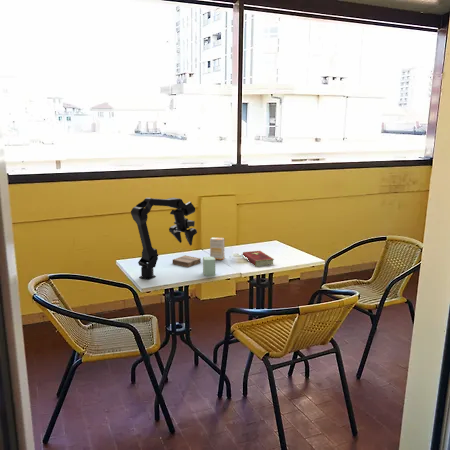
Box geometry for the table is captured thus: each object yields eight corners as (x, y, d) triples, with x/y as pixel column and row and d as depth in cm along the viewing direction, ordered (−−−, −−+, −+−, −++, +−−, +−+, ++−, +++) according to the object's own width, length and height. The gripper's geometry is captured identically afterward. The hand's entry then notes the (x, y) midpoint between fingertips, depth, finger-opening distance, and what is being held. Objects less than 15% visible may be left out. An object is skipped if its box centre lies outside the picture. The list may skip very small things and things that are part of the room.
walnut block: (188, 267, 268) (188, 263, 268) (172, 264, 275) (172, 259, 274) (200, 263, 278) (200, 258, 277) (185, 260, 284) (185, 255, 284)
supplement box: (224, 258, 288) (224, 237, 285) (222, 260, 283) (222, 239, 281) (212, 257, 290) (212, 236, 287) (209, 259, 285) (209, 238, 283)
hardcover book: (255, 267, 271) (255, 260, 270) (242, 258, 290) (242, 251, 289) (273, 265, 274) (274, 258, 274) (260, 256, 294) (260, 250, 293)
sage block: (204, 275, 252) (204, 260, 251) (203, 272, 258) (202, 257, 256) (215, 275, 254) (215, 259, 252) (213, 272, 259) (213, 256, 258)
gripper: (201, 215, 257) (206, 241, 263) (180, 212, 270) (185, 235, 276) (186, 223, 251) (192, 249, 256) (165, 219, 264) (171, 243, 269)
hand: (185, 243), depth 265 cm, fingers open, 9 cm apart
